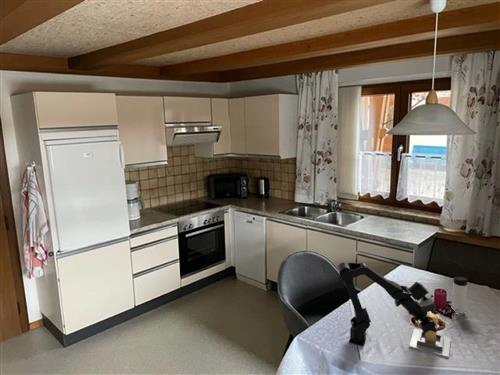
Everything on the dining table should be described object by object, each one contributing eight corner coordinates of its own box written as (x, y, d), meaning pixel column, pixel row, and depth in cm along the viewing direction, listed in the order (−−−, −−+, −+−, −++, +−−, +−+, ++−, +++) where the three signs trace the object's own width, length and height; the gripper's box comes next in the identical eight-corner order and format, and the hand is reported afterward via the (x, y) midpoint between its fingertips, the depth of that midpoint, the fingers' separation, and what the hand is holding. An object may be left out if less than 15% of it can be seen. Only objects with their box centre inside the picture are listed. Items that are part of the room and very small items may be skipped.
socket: (409, 347, 169) (409, 342, 168) (414, 329, 182) (414, 324, 182) (448, 358, 161) (449, 352, 160) (450, 339, 174) (451, 333, 174)
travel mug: (458, 316, 193) (461, 281, 189) (448, 310, 199) (451, 275, 195) (467, 314, 194) (471, 279, 190) (457, 308, 200) (460, 274, 196)
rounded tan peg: (422, 340, 173) (424, 315, 170) (429, 337, 174) (431, 312, 172) (430, 345, 168) (432, 319, 166) (438, 343, 170) (440, 317, 167)
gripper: (432, 305, 158) (457, 329, 159) (417, 285, 176) (440, 306, 177) (412, 321, 160) (437, 344, 161) (399, 299, 179) (422, 321, 180)
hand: (434, 328), depth 170 cm, fingers open, 5 cm apart
